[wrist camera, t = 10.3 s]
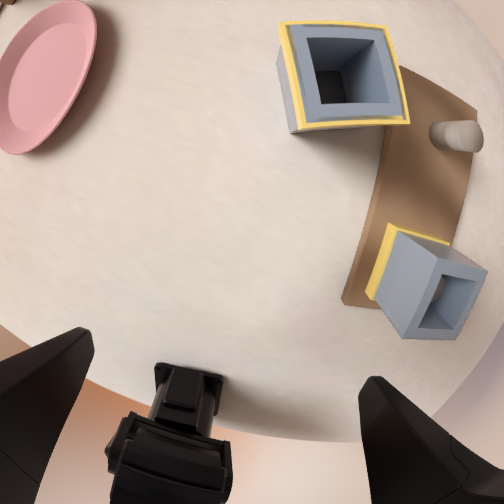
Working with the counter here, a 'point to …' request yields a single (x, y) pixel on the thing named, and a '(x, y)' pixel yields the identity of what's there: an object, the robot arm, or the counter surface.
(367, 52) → the sleeve band up
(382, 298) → the sleeve band down
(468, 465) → the robot arm
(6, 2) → the wooden block
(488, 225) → the counter surface
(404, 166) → the pin board
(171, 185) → the counter surface
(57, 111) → the plate
